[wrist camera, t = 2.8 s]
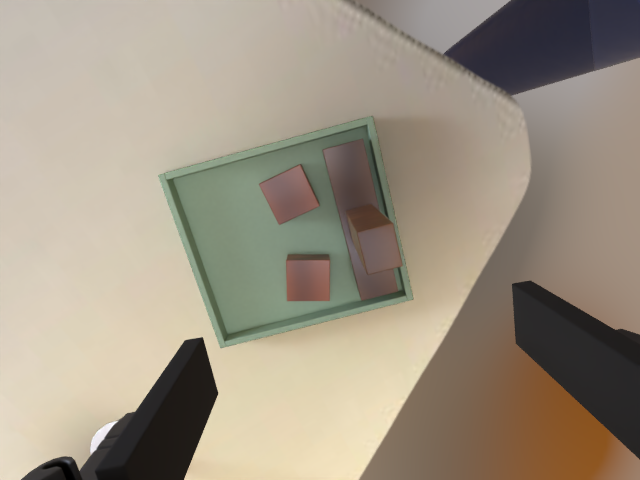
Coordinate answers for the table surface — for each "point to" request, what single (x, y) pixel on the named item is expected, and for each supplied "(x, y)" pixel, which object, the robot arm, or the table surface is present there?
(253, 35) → the table surface
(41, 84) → the table surface
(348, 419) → the table surface
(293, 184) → the chip
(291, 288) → the chip
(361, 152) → the brown piece
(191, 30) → the table surface
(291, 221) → the tray
